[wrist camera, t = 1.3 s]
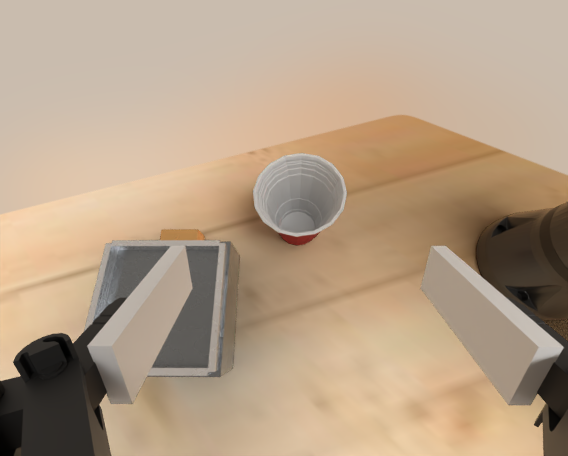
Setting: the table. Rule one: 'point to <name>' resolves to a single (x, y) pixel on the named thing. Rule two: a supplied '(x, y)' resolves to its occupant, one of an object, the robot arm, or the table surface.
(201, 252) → the square tray with tab
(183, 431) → the table surface
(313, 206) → the plastic cup
